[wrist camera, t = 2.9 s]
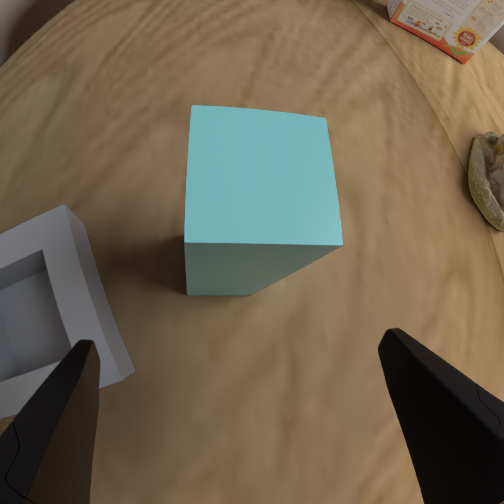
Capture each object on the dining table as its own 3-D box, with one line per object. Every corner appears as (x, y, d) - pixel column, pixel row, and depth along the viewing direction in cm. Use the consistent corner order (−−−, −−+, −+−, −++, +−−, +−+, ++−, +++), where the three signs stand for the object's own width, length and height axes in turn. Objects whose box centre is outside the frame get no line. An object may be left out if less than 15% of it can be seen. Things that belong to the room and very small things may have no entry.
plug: (248, 234, 22) (325, 118, 9) (250, 295, 21) (342, 245, 8) (187, 233, 21) (191, 105, 8) (187, 295, 20) (184, 242, 7)
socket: (84, 225, 20) (65, 203, 16) (135, 370, 18) (122, 380, 14) (-24, 275, 17) (-55, 265, 13) (16, 409, 16) (-12, 421, 12)
